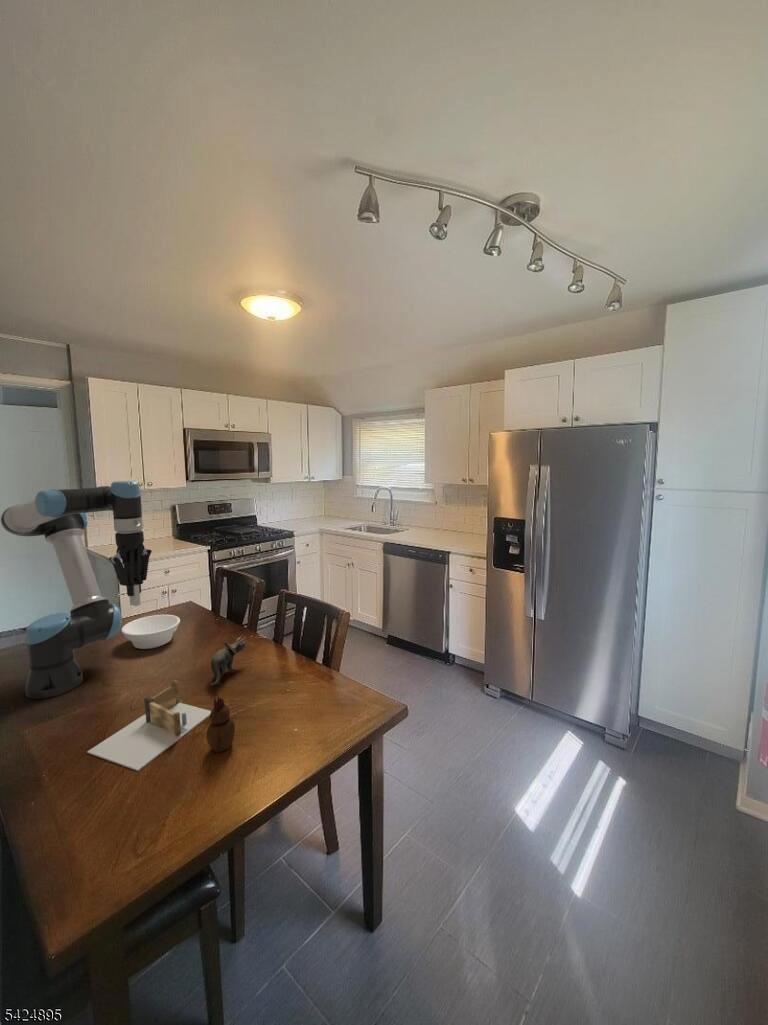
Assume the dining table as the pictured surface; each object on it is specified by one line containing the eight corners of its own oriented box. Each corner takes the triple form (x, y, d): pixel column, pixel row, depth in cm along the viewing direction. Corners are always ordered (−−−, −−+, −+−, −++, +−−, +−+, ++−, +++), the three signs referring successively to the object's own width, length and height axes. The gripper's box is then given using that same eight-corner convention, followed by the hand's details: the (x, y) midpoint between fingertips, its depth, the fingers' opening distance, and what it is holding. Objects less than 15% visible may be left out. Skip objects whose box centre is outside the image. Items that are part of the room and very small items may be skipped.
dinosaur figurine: (213, 696, 134) (211, 663, 132) (190, 693, 135) (188, 660, 134) (249, 663, 155) (247, 634, 153) (228, 661, 157) (226, 632, 155)
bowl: (164, 655, 162) (163, 634, 161) (110, 654, 162) (109, 634, 161) (190, 632, 183) (189, 614, 182) (142, 632, 183) (141, 614, 182)
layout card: (87, 753, 108) (86, 740, 108) (167, 700, 131) (167, 690, 131) (138, 771, 102) (137, 758, 101) (213, 712, 125) (212, 702, 125)
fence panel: (149, 722, 119) (148, 702, 118) (154, 719, 120) (153, 700, 120) (177, 736, 113) (176, 715, 112) (182, 733, 114) (180, 713, 114)
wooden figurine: (217, 759, 106) (214, 703, 104) (203, 750, 109) (200, 696, 107) (239, 743, 112) (237, 691, 110) (225, 736, 115) (222, 684, 113)
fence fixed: (144, 723, 120) (142, 698, 119) (176, 702, 131) (175, 679, 130) (149, 724, 120) (147, 700, 119) (180, 703, 130) (178, 680, 129)
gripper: (118, 535, 122) (124, 613, 125) (156, 528, 134) (161, 599, 137) (100, 534, 125) (107, 610, 128) (139, 527, 137) (144, 596, 140)
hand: (135, 604), depth 133 cm, fingers closed
